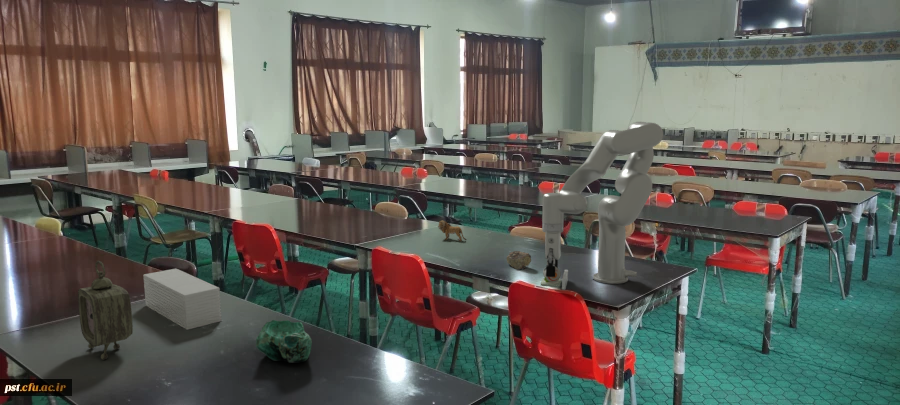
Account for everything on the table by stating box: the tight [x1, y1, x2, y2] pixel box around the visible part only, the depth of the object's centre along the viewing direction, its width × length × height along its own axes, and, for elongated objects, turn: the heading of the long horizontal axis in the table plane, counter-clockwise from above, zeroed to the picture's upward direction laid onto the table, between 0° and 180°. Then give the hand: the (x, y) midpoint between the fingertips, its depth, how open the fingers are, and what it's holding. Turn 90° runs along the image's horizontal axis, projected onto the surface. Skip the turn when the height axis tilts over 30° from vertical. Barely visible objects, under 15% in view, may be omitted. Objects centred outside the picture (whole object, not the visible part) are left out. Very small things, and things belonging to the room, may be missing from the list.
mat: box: [540, 277, 562, 287], centre depth 237 cm, size 7×7×1 cm
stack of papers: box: [143, 268, 222, 330], centre depth 204 cm, size 32×11×11 cm, turn 45°
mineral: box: [255, 319, 313, 364], centre depth 167 cm, size 18×16×10 cm
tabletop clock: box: [77, 260, 134, 361], centre depth 171 cm, size 14×9×25 cm, turn 45°
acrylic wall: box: [561, 269, 569, 291], centre depth 234 cm, size 1×12×4 cm, turn 166°
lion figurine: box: [437, 220, 467, 242], centre depth 309 cm, size 15×5×9 cm, turn 67°
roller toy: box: [542, 266, 562, 282], centre depth 236 cm, size 4×6×6 cm
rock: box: [505, 250, 532, 271], centre depth 258 cm, size 7×11×10 cm
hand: (551, 273), depth 236 cm, fingers open, 9 cm apart
